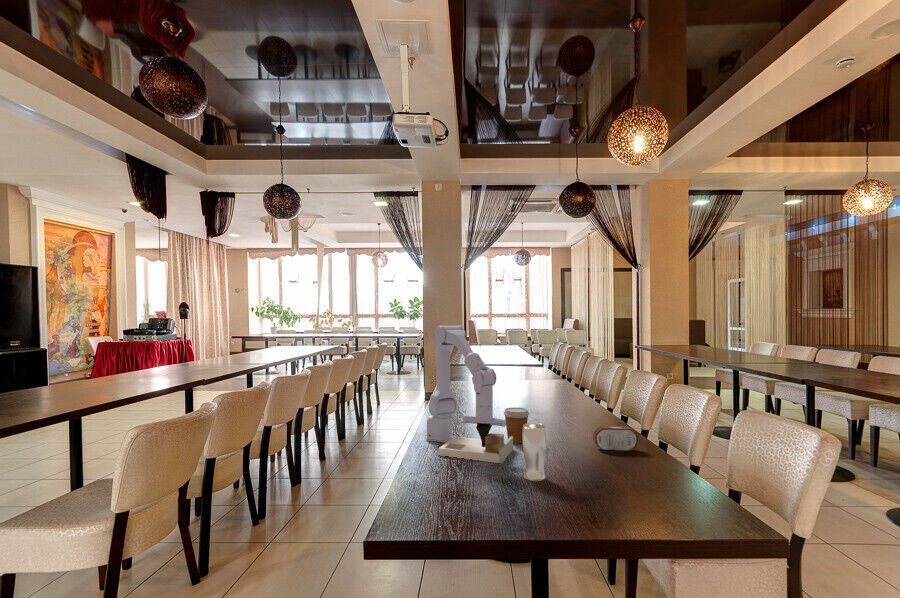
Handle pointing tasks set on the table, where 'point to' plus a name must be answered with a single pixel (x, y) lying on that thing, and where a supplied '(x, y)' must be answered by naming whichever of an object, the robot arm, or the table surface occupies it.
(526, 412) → the disposable coffee cup
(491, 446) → the walnut block
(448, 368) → the robot arm
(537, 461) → the beer glass
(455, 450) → the trap board
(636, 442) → the tin
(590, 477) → the table surface
